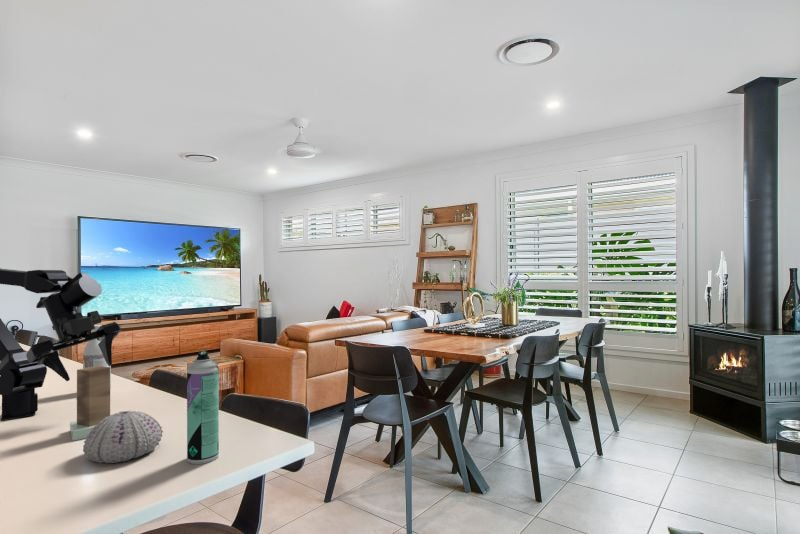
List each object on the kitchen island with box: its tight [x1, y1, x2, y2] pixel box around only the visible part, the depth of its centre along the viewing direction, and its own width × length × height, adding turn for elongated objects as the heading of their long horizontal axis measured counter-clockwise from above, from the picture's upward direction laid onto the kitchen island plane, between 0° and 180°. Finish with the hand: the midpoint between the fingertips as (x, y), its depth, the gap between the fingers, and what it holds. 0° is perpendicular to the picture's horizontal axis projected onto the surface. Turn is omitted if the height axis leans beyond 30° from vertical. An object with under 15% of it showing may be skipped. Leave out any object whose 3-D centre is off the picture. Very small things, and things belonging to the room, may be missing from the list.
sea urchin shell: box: [82, 410, 164, 464], centre depth 88 cm, size 13×14×8 cm
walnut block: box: [76, 366, 111, 427], centre depth 101 cm, size 4×4×12 cm
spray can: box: [186, 351, 220, 465], centre depth 85 cm, size 6×6×20 cm
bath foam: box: [82, 324, 112, 390], centre depth 136 cm, size 7×7×20 cm
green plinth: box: [69, 420, 96, 442], centre depth 100 cm, size 8×8×2 cm
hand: (90, 372), depth 109 cm, fingers open, 9 cm apart
